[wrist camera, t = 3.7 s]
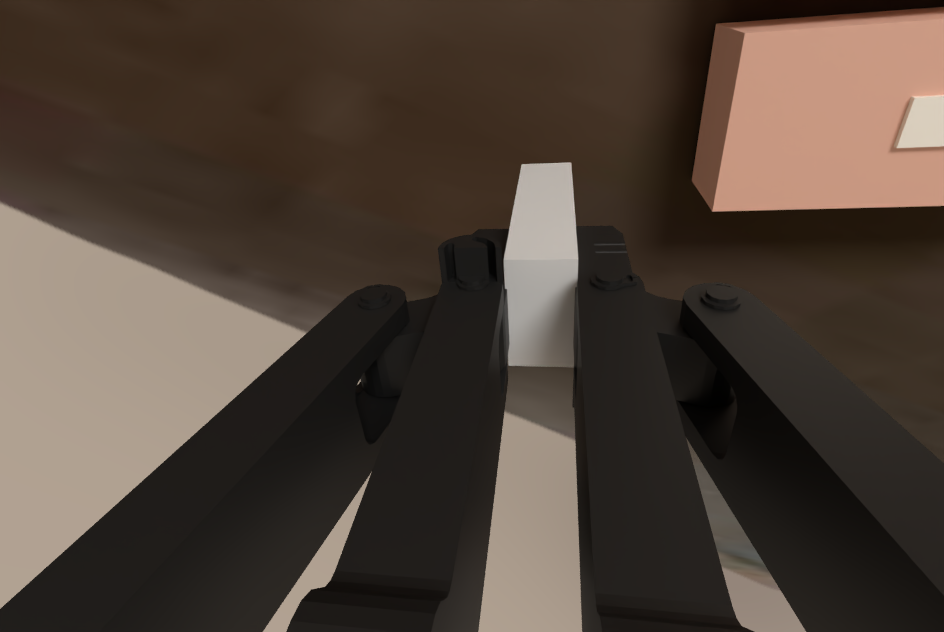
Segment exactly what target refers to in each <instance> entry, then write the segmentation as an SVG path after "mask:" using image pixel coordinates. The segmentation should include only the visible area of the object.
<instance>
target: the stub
mask: <svg viewBox="0 0 944 632" xmlns="http://www.w3.org/2000/svg"><path fill="white" fill-rule="evenodd" d="M692 182H693V183H694V185H695V186H696V188H697V189H698V191H699V192H700V194H701V195H702V197H703V198H704V200H705V201H706V203H707V204H708V206H709V207H710V209H711V210H712V212H714V211H755V210H795V209H836V208H876V207H917V206H944V7H933V8H920V9H906V10H893V11H880V12H866V13H853V14H839V15H826V16H812V17H799V18H785V19H772V20H759V21H745V22H732V23H718V24H716V27H715V33H714V40H713V46H712V53H711V59H710V66H709V72H708V79H707V85H706V91H705V98H704V104H703V111H702V117H701V124H700V130H699V137H698V143H697V150H696V156H695V163H694V169H693V175H692Z"/></svg>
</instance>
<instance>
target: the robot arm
mask: <svg viewBox="0 0 944 632" xmlns="http://www.w3.org/2000/svg"><path fill="white" fill-rule="evenodd" d="M438 252H439V261H440V269H441V277H442V285H441V288H440V290H439V293H438V295H435V296H433V297H430V298H426V299H421V300H415V301H410V302H407V301H406V296H405V292H404V291H403V290H401V289H400V288H398V287H395V286H391V285H380V284H379V285H374V286H373V285H371V286H367V287H365V288H363V289H360V290H357V291H355V292H354V293H352V294H351V295H349V296H348V297H347V298H346V299H344V300H343V301H342V302H341V303H340V304H339V305H338V306H337V307H336V308H334V309H333V310H332V311H331V312H330V313H329V314H328V315H327V316H326V317H324V318H323V319H322V320H321V321H320V322H319V323H318V324H317V325H316V326H314V327H313V328H312V329H311V330H310V331H309V332H308V333H307V334H306V335H304V336H303V337H302V338H301V339H300V340H299V341H298V342H297V343H296V344H295V345H293V346H292V347H291V348H290V349H289V350H288V351H287V352H285V353H284V354H283V355H282V356H281V357H280V358H279V359H278V360H277V361H276V362H275V363H273V364H272V365H271V366H270V367H269V368H268V369H267V370H266V371H265V372H263V373H262V374H261V375H260V376H259V377H258V378H257V379H255V380H254V381H253V382H252V383H251V384H250V385H249V386H248V387H247V388H246V389H244V390H243V391H242V392H241V393H240V394H239V395H238V396H237V397H235V398H234V399H233V400H232V401H231V402H230V403H229V404H228V405H227V406H225V407H224V408H223V409H222V410H221V411H220V412H219V413H218V414H217V415H215V416H214V417H213V418H212V419H211V420H210V421H209V422H208V423H207V424H206V425H205V426H203V427H202V428H201V429H200V430H199V431H198V432H197V433H195V434H194V435H193V436H192V437H191V438H190V439H189V440H188V441H187V442H185V443H184V444H183V445H182V446H181V447H180V448H179V449H178V450H176V451H175V452H174V453H173V454H172V455H171V456H170V457H169V458H168V459H167V460H165V461H164V462H163V463H162V464H161V465H160V466H159V467H158V468H156V470H154V471H153V472H152V473H151V474H150V475H149V476H148V477H146V478H145V479H144V480H143V481H142V482H141V483H140V484H139V485H138V486H137V487H135V488H134V489H133V490H132V491H131V492H130V493H129V494H128V495H126V496H125V497H124V498H123V499H122V500H121V501H120V502H119V503H118V504H117V505H115V506H114V507H113V508H112V509H111V510H110V511H109V512H108V513H106V514H105V515H104V516H103V517H102V518H101V519H100V520H99V521H98V522H96V523H95V524H94V525H93V526H92V527H91V528H90V529H89V530H88V531H86V532H85V533H84V534H83V535H82V536H81V537H80V538H79V539H78V540H76V541H75V542H74V543H73V544H72V545H71V546H70V547H69V548H68V549H67V550H65V551H64V552H63V553H62V554H61V555H60V556H59V557H57V558H56V559H55V560H54V561H53V562H52V563H51V564H50V565H49V566H48V567H46V568H45V569H44V570H43V571H42V572H41V573H40V574H39V575H37V576H36V577H35V578H34V579H33V580H32V581H31V582H30V583H29V584H28V585H26V586H25V587H24V588H23V589H22V590H21V591H20V592H19V593H17V594H16V595H15V596H14V597H13V598H12V599H11V600H10V601H9V602H7V603H6V604H5V605H4V606H3V607H2V608H1V609H0V632H263V630H264V629H265V627H266V626H267V624H268V623H269V621H270V620H271V618H272V617H273V616H274V614H275V613H276V611H277V609H278V608H279V607H280V605H281V604H282V602H283V601H284V599H285V598H286V596H287V595H288V594H289V592H290V591H291V589H292V588H293V586H294V585H295V583H296V582H297V580H298V579H299V578H300V576H301V575H302V573H303V572H304V570H305V569H306V567H307V566H308V564H309V563H310V561H311V560H312V558H313V557H314V556H315V554H316V553H317V551H318V549H319V548H320V547H321V545H322V544H323V542H324V540H325V539H326V538H327V536H328V535H329V534H330V532H331V531H332V529H333V528H334V526H335V525H336V523H337V522H338V520H339V519H340V517H341V516H342V514H343V513H344V512H345V510H346V509H347V507H348V506H349V504H350V503H351V501H352V500H353V498H354V497H355V495H356V494H357V492H358V491H359V489H360V488H361V487H362V485H363V484H364V482H365V481H366V479H367V478H368V476H369V475H370V473H371V472H372V473H371V476H370V478H369V481H368V484H367V487H366V489H365V492H364V495H363V498H362V500H361V503H360V505H359V508H358V511H357V514H356V516H355V519H354V521H353V524H352V527H351V530H350V532H349V535H348V538H347V541H346V543H345V546H344V548H343V551H342V554H341V556H340V559H339V562H338V565H337V568H336V570H335V572H334V574H333V577H332V579H331V581H330V582H329V583H328V584H327V585H326V586H325V587H322V588H317V589H313V590H311V591H310V592H309V593H308V594H307V595H306V596H305V597H304V598H303V599H302V600H301V602H300V604H299V606H298V608H297V610H296V612H295V614H294V616H293V618H292V619H291V622H290V624H289V626H288V629H287V632H478V629H479V620H480V612H481V603H482V595H483V587H484V578H485V569H486V561H487V552H488V544H489V536H490V527H491V519H492V510H493V502H494V494H495V485H496V477H497V468H498V460H499V452H500V451H499V450H500V443H501V435H502V426H503V418H504V409H505V401H506V392H507V384H508V369H507V359H508V361H509V366H543V367H574V379H573V407H574V411H575V440H576V466H577V495H578V522H579V523H578V524H579V551H580V552H579V553H580V579H581V609H582V632H754V631H751V630H749V629H747V628H745V627H742V626H741V625H740V623H739V622H738V620H737V618H736V615H735V612H734V610H733V607H732V603H731V600H730V596H729V593H728V589H727V586H726V582H725V578H724V575H723V571H722V567H721V564H720V560H719V556H718V553H717V549H716V545H715V542H714V538H713V534H712V531H711V527H710V524H709V520H708V516H707V513H706V509H705V505H704V502H703V498H702V495H701V491H700V487H699V484H698V480H697V476H696V473H695V469H694V465H693V462H692V458H691V455H690V451H689V447H688V444H687V440H686V438H687V439H688V441H689V443H690V444H691V446H692V448H693V449H694V451H695V452H696V454H697V456H698V457H699V459H700V460H701V462H702V464H703V465H704V467H705V469H706V470H707V472H708V473H709V475H710V477H711V478H712V480H713V481H714V483H715V485H716V486H717V488H718V490H719V491H720V493H721V494H722V496H723V498H724V499H725V501H726V503H727V504H728V506H729V507H730V509H731V511H732V512H733V514H734V515H735V517H736V519H737V520H738V522H739V524H740V525H741V527H742V528H743V530H744V532H745V533H746V535H747V536H748V538H749V540H750V541H751V543H752V545H753V546H754V548H755V549H756V551H757V553H758V554H759V556H760V557H761V559H762V561H763V562H764V564H765V566H766V567H767V569H768V570H769V572H770V574H771V575H772V577H773V579H774V580H775V582H776V583H777V585H778V587H779V588H780V590H781V591H782V593H783V594H784V596H785V598H786V600H787V601H788V603H789V604H790V606H791V608H792V609H793V611H794V612H795V614H796V616H797V617H798V619H799V621H800V622H801V624H802V625H803V627H804V628H805V630H806V632H944V463H943V462H942V461H941V460H940V459H938V458H937V457H936V456H935V455H934V454H933V453H932V452H930V451H929V450H928V449H927V448H926V447H925V446H924V445H923V444H921V443H920V442H919V441H918V440H917V439H916V438H915V437H914V436H912V435H911V434H910V433H909V432H908V431H907V430H906V429H904V428H903V427H902V426H901V425H900V424H899V423H898V422H897V421H895V420H894V419H893V418H892V417H891V416H890V415H889V414H888V413H886V412H885V411H884V410H883V409H882V408H881V407H880V406H879V405H877V404H876V403H875V402H874V401H873V400H872V399H871V398H869V397H868V396H867V395H866V394H865V393H864V392H863V391H862V390H860V389H859V388H858V387H857V386H856V385H855V384H854V383H853V382H851V381H850V380H849V379H848V378H847V377H846V376H845V375H843V374H842V373H841V372H840V371H839V370H838V369H837V368H836V367H834V366H833V365H832V364H831V363H830V362H829V361H828V360H827V359H825V358H824V357H823V356H822V355H821V354H820V353H819V352H817V351H816V350H815V349H814V348H813V347H812V346H811V345H810V344H808V343H807V342H806V341H805V340H804V339H803V338H802V337H801V336H799V335H798V334H797V333H796V332H795V331H794V330H793V329H792V328H790V327H789V326H788V325H787V324H786V323H785V322H784V321H782V320H781V319H780V318H779V317H778V316H777V315H776V314H775V313H773V312H772V311H771V310H770V309H769V308H768V307H767V306H766V305H764V304H763V303H762V302H761V301H760V300H759V299H758V298H756V297H755V296H754V295H752V294H751V293H749V292H748V291H746V290H744V289H741V288H738V287H735V286H733V285H731V284H726V283H725V284H723V283H717V282H716V283H703V284H699V285H695V286H692V287H690V288H689V289H687V290H686V291H685V293H684V296H683V301H678V300H672V299H667V298H663V297H658V296H655V295H653V294H650V293H648V292H646V291H645V288H644V284H643V282H642V280H641V279H640V277H639V276H637V275H636V274H634V273H632V269H631V265H630V261H629V257H628V253H627V250H626V246H625V242H624V238H623V234H622V233H621V232H620V231H618V230H617V229H616V228H614V227H613V226H576V221H575V208H574V195H573V181H572V168H571V163H546V164H522V166H521V171H520V176H519V182H518V187H517V192H516V197H515V203H514V208H513V213H512V218H511V224H510V229H480V230H477V231H476V232H475V233H473V234H472V235H464V236H459V237H455V238H451V239H449V240H447V241H445V242H443V243H442V244H441V245H440V246H439V247H438ZM360 379H361V382H360V383H359V384H358V386H357V383H358V381H359V380H360Z"/></svg>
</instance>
